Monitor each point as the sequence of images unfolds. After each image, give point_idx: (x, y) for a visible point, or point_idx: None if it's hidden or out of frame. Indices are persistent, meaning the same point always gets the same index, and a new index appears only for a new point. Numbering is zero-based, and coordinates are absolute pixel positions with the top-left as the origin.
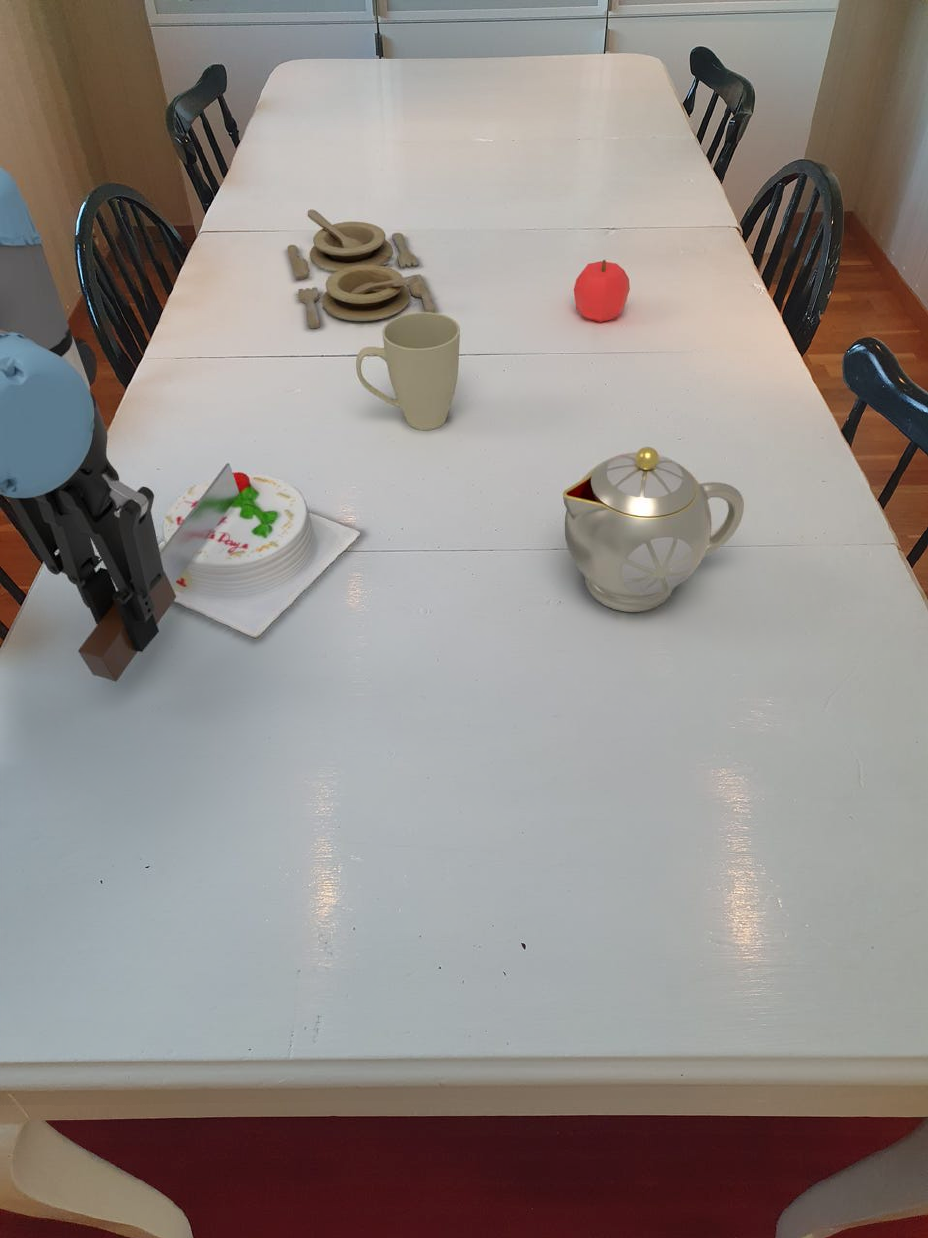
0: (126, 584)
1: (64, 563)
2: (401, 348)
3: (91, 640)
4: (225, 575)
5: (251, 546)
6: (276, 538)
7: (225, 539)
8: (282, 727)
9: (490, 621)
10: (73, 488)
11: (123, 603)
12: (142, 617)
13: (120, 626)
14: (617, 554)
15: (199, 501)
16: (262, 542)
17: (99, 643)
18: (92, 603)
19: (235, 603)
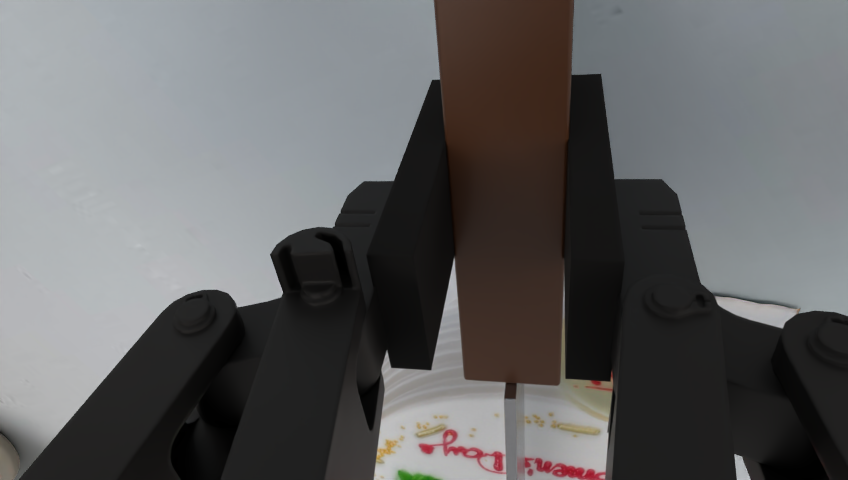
0: (268, 341)
1: (714, 410)
2: None
3: (542, 24)
4: (449, 369)
5: (413, 449)
6: (380, 470)
7: (486, 458)
8: (98, 30)
9: (38, 356)
10: None
11: (305, 232)
12: (362, 197)
13: (461, 136)
14: None
15: None
16: (400, 459)
17: (491, 21)
18: (581, 197)
19: (448, 302)
